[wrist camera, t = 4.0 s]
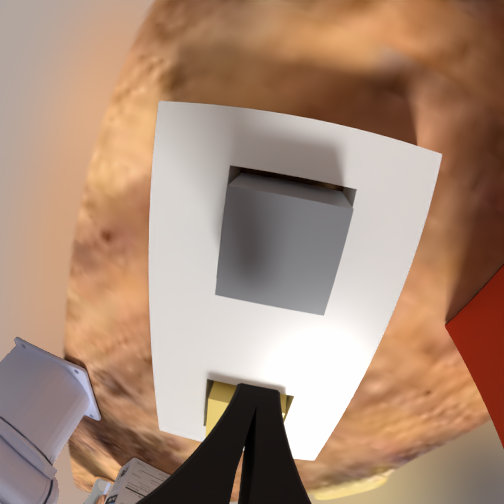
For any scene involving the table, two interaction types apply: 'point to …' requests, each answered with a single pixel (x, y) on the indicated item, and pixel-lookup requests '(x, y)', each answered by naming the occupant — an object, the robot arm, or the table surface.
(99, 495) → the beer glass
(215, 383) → the mustard key
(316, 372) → the board
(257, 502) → the robot arm
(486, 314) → the file binder
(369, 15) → the table surface
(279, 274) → the graphite key
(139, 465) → the light bulb box
